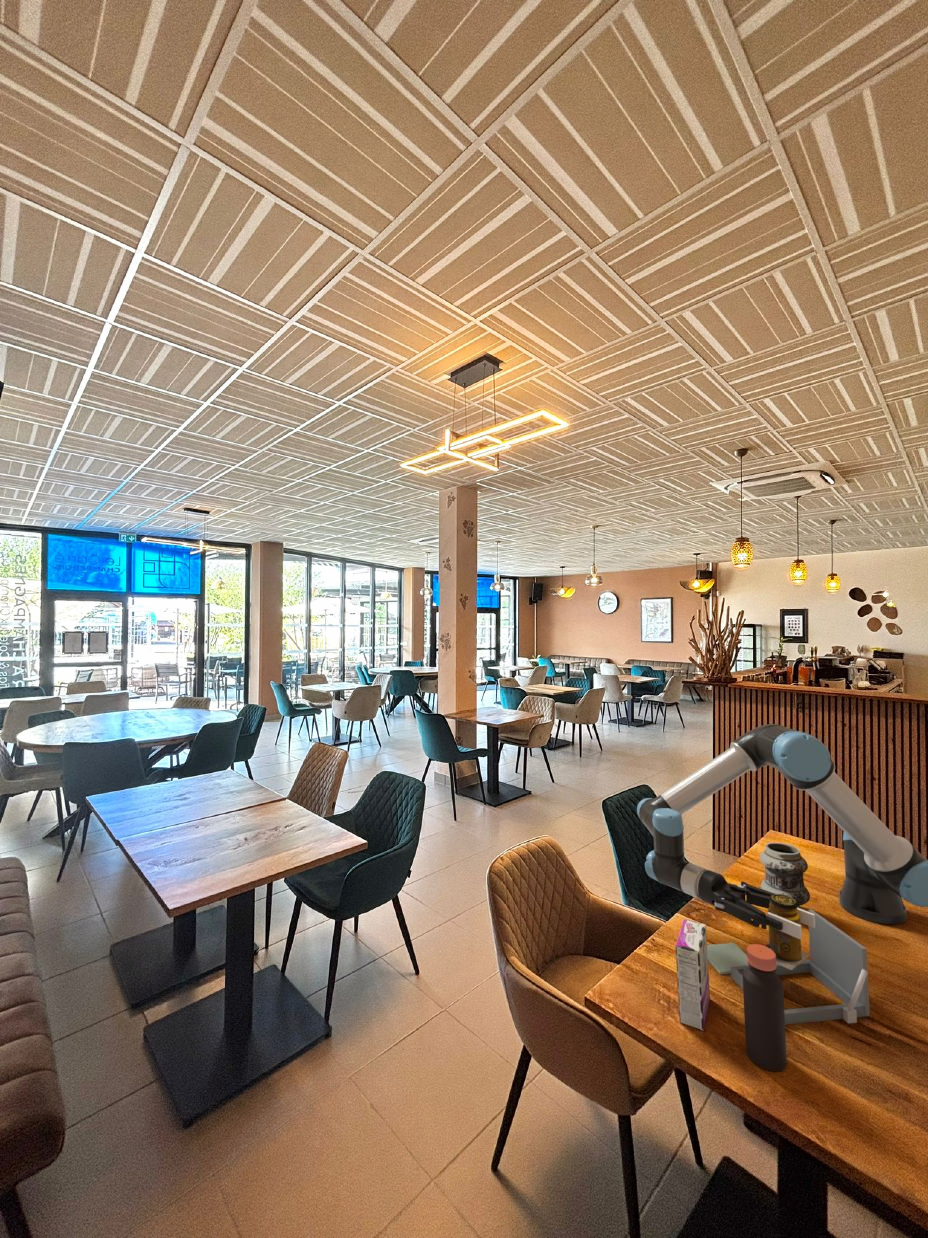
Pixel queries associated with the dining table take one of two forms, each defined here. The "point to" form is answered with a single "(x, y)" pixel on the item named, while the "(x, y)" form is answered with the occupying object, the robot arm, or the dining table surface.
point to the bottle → (764, 1009)
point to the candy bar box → (692, 974)
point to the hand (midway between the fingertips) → (807, 926)
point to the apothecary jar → (785, 872)
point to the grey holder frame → (829, 974)
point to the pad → (726, 957)
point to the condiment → (781, 942)
